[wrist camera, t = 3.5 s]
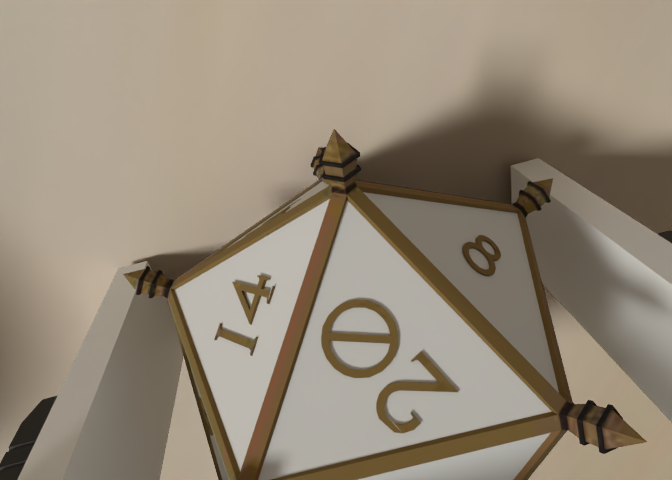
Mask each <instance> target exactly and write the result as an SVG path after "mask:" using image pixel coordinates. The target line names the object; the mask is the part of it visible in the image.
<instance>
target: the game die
mask: <svg viewBox="0 0 672 480" xmlns="http://www.w3.org/2000/svg"><path fill="white" fill-rule="evenodd" d="M359 156H360V152H358V151H357V150H356V149H355V148H353V147H352V146H351V145H350V144H348V143H346V141H345V140H344V139H343V138H342V137H341V136H340V135H339V134H338V132H337V131H336V130H335V129H334V130H333V133H332V135H331V137H330V140H329V142H328V144H327V147H325V148H323V149H322V150H321V149H320V148H318V151H317V154H316V156H315V157H314V158H313V160H312V163H311V167H314V172H313V174H314V175H316V176H317V177H318V179H319V180H318V181H317V182H315V183H314V184H313V185H311V186H310V187H308V188H307V189H305V190H304V191H302V192H301V193H300V194H298V195H297V196H295V197H294V198H292V199H291V200H289V201H288V202H287V203H285V204H284V205H282V206H281V207H279V208H278V209H276V210H275V211H274V212H272V213H271V214H269V215H268V216H266V217H265V218H263V219H262V220H261V221H259V222H258V223H256V224H255V225H253V226H252V227H250V228H249V229H248V230H246V231H245V232H243V233H242V234H240V235H239V236H237V237H236V238H235V239H233V240H232V241H230V242H229V243H227V244H226V245H224V246H223V247H222V248H220V249H219V250H217V251H216V252H214V253H213V254H211V255H210V256H209V257H207V258H206V259H204V260H203V261H201V262H200V263H198V264H197V265H196V266H194V267H193V268H191V269H190V270H188V271H187V272H185V273H184V274H183V275H181V276H180V277H178V278H177V279H175V280H169V279H168V278H167V277H165V276H164V275H163V274H162V271H160V270H159V271H158V272H155V271H152V270H151V269H150V267H149V266H147V267H146V269H142V270H138V271H134V272H130V273H125V274H123V275H124V276H125V278H126V279H127V280H128V281H129V283H130V284H131V285H132V286H133V288H134V289H135V290H136V295H140V294H141V293H142V294H146V295H149V297H148V298H151V299H152V298H153V297H154V296H164V297H165V298H167V299H168V302H169V306H170V309H171V313H172V317H173V320H174V324H175V327H176V331H177V334H178V338H179V341H180V345H181V348H182V352H183V355H184V359H185V362H186V366H187V370H188V373H189V377H190V380H191V384H192V387H193V391H194V394H195V398H196V401H197V405H198V408H199V412H200V415H201V419H202V423H203V426H204V430H205V433H206V437H207V440H208V444H209V447H210V451H211V454H212V458H213V461H214V465H215V469H216V472H217V476H218V479H219V480H528V478H529V477H530V476H531V475H532V473H533V472H534V471H535V470H536V468H537V467H538V466H539V465H540V463H541V462H542V461H543V460H544V459H545V457H546V456H547V455H548V454H549V452H550V451H551V450H552V449H553V447H554V446H555V445H556V444H557V442H558V441H559V440H560V439H561V437H562V436H563V435H564V434H565V433H566V431H567V430H569V431H570V432H572V433H573V434H574V435H576V436H577V437H578V438H579V440H580V444H582V445H587V444H589V443H590V444H593V445H595V446H597V447H599V452H601V453H603V454H605V453H607V452H609V451H612V450H614V449H616V448H618V447H622V446H628V445H633V444H639V443H644V442H647V441H646V440H644V439H643V438H642V437H641V436H640V435H639V434H638V433H637V432H636V431H635V430H634V429H633V428H631V427H630V426H629V425H628V424H627V423H626V422H625V421H624V420H623V418H622V417H621V415H620V414H619V413H618V412H617V410H616V409H615V408H614V407H613V405H609V404H608V405H607V407H606V408H603V407H599V406H597V405H596V404H595V403H594V402H593V401H590V400H588V401H587V403H586V404H574V403H573V402H572V398H571V394H570V390H569V386H568V382H567V379H566V375H565V371H564V367H563V363H562V359H561V355H560V351H559V347H558V343H557V339H556V335H555V331H554V327H553V323H552V320H551V316H550V312H549V308H548V304H547V300H546V296H545V292H544V288H543V284H542V280H541V276H540V272H539V268H538V264H537V260H536V257H535V253H534V249H533V245H532V241H531V237H530V233H529V229H528V225H527V221H526V217H527V215H528V214H529V213H531V212H533V211H535V210H537V211H540V210H541V206H542V205H543V204H544V203H550V202H551V200H550V198H549V197H550V192H551V187H552V182H553V178H551V179H547V180H542V181H537V182H531V181H528V182H527V187H526V188H525V189H524V190H520V191H519V197H518V199H517V201H516V202H515V203H513V204H506V203H500V202H494V201H487V200H481V199H474V198H468V197H462V196H455V195H449V194H443V193H436V192H430V191H423V190H417V189H411V188H404V187H398V186H392V185H385V184H379V183H372V182H366V181H360V180H355V178H356V174H357V173H358V172H360V171H361V167H360V166H359V165H357V158H358V157H359Z"/></svg>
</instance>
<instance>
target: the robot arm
mask: <svg viewBox="0 0 672 480" xmlns="http://www.w3.org/2000/svg"><path fill="white" fill-rule="evenodd" d="M551 178H553V182H552V187H551V192H550V197H549V198H550V200H551V202H550V203H544V204H543V205H542V206H541V210H540V211H537V210H535V211H533V212H531V213H529V214H528V215H527V217H526V221H527V225H528V229H529V233H530V237H531V241H532V245H533V249H534V253H535V257H536V260H537V264H538V268H539V272H540V276H541V280H542V284H543V285H544V286H545V287H546V288H547V289H548V290H549V291H550V292H551V293H552V294H553V296H554V297H555V298H556V299H557V300H558V301H559V302H560V303H561V304H562V305H563V306H564V307H565V308H566V309H567V311H568V312H569V313H570V314H571V315H572V316H573V317H574V318H575V319H576V320H577V321H578V322H579V323H580V325H581V326H582V327H583V328H584V329H585V330H586V331H587V332H588V333H589V334H590V335H591V336H592V337H593V338H594V340H595V341H596V342H597V343H598V344H599V345H600V346H601V347H602V348H603V349H604V350H605V351H606V352H607V353H608V355H609V356H610V357H611V358H612V359H613V360H614V361H615V362H616V363H617V364H618V365H619V366H620V367H621V369H622V370H623V371H624V372H625V373H626V374H627V375H628V376H629V377H630V378H631V379H632V380H633V381H634V382H635V384H636V385H637V386H638V387H639V388H640V389H641V390H642V391H643V392H644V393H645V394H646V395H647V396H648V397H649V399H650V400H651V401H652V402H653V403H654V404H655V405H656V406H657V407H658V408H659V409H660V410H661V411H662V412H663V414H664V415H665V416H666V417H667V418H668V419H669V420H670V421H671V422H672V231H666V232H662V233H659V234H656V233H655V232H653V231H652V230H650V229H648V228H647V227H645V226H644V225H642V224H641V223H639V222H638V221H636V220H634V219H633V218H631V217H630V216H628V215H627V214H625V213H624V212H622V211H620V210H619V209H617V208H616V207H614V206H613V205H611V204H609V203H608V202H606V201H605V200H603V199H602V198H600V197H599V196H597V195H595V194H594V193H592V192H591V191H589V190H588V189H586V188H584V187H583V186H581V185H580V184H578V183H577V182H575V181H574V180H572V179H570V178H569V177H567V176H566V175H564V174H563V173H561V172H559V171H558V170H556V169H555V168H553V167H552V166H550V165H549V164H547V163H545V162H544V161H542V160H541V159H539V158H538V159H534V160H530V161H526V162H522V163H519V164H515V165H511V194H512V204H513V203H515V202H516V201H517V199H518V197H519V191H520V190H524V189H525V188H526V187H527V182H528V181H531V182H537V181H542V180H547V179H551ZM147 266H149V267H150V265H149V263H148V261H145V262H141V263H137V264H133V265H130V266H126V267H122V268H118V270H117V272H116V275H115V277H114V279H113V281H112V283H111V285H110V287H109V289H108V291H107V293H106V295H105V298H104V300H103V302H102V304H101V306H100V308H99V310H98V312H97V314H96V316H95V318H94V321H93V323H92V325H91V327H90V329H89V331H88V333H87V335H86V337H85V339H84V341H83V344H82V346H81V348H80V350H79V352H78V354H77V356H76V358H75V360H74V362H73V364H72V367H71V369H70V371H69V373H68V375H67V377H66V379H65V381H64V383H63V385H62V388H61V390H60V392H59V394H58V396H54V397H51V398H47V399H43V400H42V401H41V402H40V403H39V404H38V405H37V406H36V408H35V409H34V410H33V411H32V412H31V413H30V414H29V415H28V417H27V418H26V419H25V420H24V421H23V422H22V423H21V425H20V427H19V429H18V431H17V433H16V435H15V437H14V438H13V440H12V442H11V444H10V446H9V452H6V454H5V455H4V457H3V459H2V461H1V463H0V480H159V479H160V474H161V469H162V464H163V459H164V453H165V448H166V443H167V438H168V433H169V428H170V423H171V417H172V412H173V407H174V402H175V397H176V392H177V387H178V382H179V376H180V371H181V366H182V361H183V356H184V355H183V352H182V348H181V345H180V341H179V338H178V334H177V331H176V327H175V324H174V320H173V317H172V313H171V309H170V306H169V303H168V301H167V299H166V298H165V297H164V296H154V297H153V298H152V299H151V298H148V297H149V295H146V294H142V293H141V294H140V295H136V290H135V289H134V288H133V286H132V285H131V284H130V283H129V281H128V280H127V279H126V278H125V276H124V275H123V274H125V273H130V272H134V271H138V270H142V269H146V267H147ZM150 269H151V267H150ZM151 270H152V269H151Z"/></svg>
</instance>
